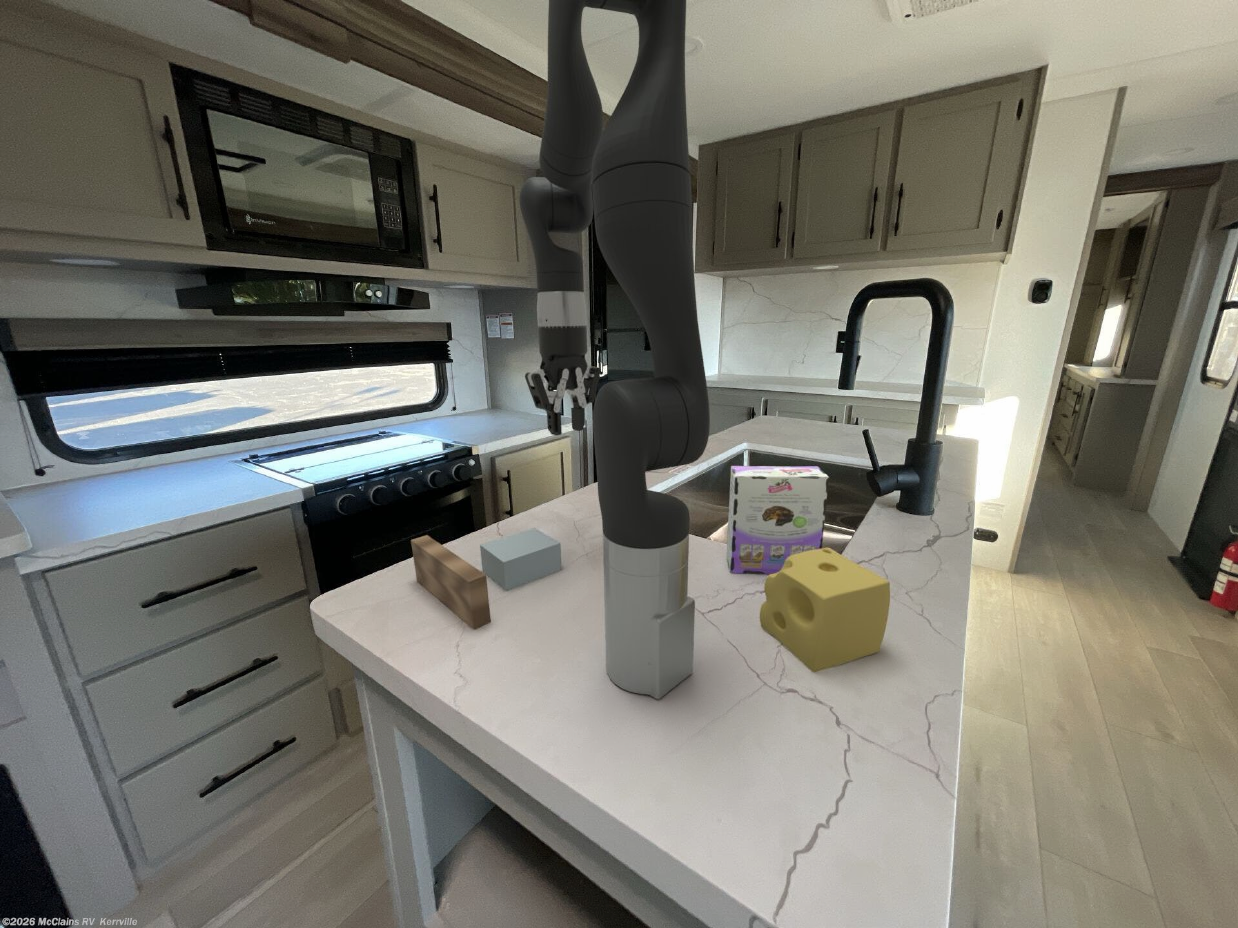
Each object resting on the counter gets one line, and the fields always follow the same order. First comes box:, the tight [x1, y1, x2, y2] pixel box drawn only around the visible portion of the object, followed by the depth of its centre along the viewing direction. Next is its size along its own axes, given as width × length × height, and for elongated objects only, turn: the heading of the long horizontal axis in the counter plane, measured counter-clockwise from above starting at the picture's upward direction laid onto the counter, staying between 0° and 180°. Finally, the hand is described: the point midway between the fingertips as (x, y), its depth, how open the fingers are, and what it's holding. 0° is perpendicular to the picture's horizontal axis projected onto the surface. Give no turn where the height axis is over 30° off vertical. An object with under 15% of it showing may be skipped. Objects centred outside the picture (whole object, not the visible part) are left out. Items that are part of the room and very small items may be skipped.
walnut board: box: [410, 534, 492, 630], centre depth 71 cm, size 18×2×7 cm, turn 44°
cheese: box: [759, 547, 891, 673], centre depth 61 cm, size 10×11×10 cm
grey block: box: [479, 527, 563, 592], centre depth 80 cm, size 8×10×5 cm
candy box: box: [726, 465, 830, 575], centre depth 78 cm, size 14×6×16 cm, turn 84°
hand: (567, 431), depth 81 cm, fingers open, 4 cm apart
